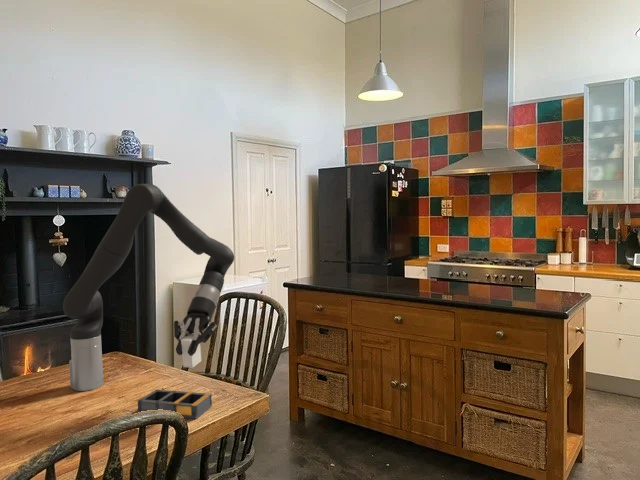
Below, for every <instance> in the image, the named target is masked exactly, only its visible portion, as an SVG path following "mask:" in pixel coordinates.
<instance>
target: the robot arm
mask: <svg viewBox="0 0 640 480" xmlns="http://www.w3.org/2000/svg"><path fill="white" fill-rule="evenodd" d="M148 213H152V214H153V215H155V216H156V217H158V218H159V219H160V220H161V221H163V222H164V223H165V224H166V225H167V226H168V227H169V229H170V230H171V231H172V233H173V234H174V235H175V237H176V238H177V239H178V240H179V241H180V242H181V243H182V244H184V245H185V247H186V248H188V249H189V250H190V251H192V252H193V253H194V254H196V255H199V256H200V255H202V254H205V255H207V256H209V258H208V259H207V263H206V265H205V268H204V271H203V275H202V277H201V280H200V281H199V285H198V287H197V288H196V290H195V292H194V294H193V297H192V299H191V302H190V304H189V306H188V308H187V313H186V316H185V317H184V318H183V319H182V320H180V321H178V320H174V321H173V326H174V327H173V333H174V338H175V339H176V340H177V345H176V347H175V352H176V354H177V355H178V356H182V345H181V340H182V339H183V338H185V337H186V336H189V335H190V334H194V337H193V341H192V342H191V344H190V346H189V349H188V354H189V355H190V356H193V354H195V352H196V350H197V347H198V345H199V344H200V345H201V343H203V344H205V343H207V342H208V340H209V339H210V338H211V337H212V335H213V334H214V333H215V332H216V330H218V325H217V324H216V323H215V322H214V321H212V319H213V317H214V314H215V310H216V308H217V306H218V304H219V301H220V300H219V299H220V296H221V292H222V290H223V287H224V283H225V276H226V274H227V272H228V271H229V269H230V268H231V266H232V264H233V263H234V261H235V254H234V252H233V250H232V249H231V248H230V247H229V246H228V245H226V244H224V243H223V242H220V241H218V240H217V239H215V238H212V237H210V236H209V235H207V233H205V232H204V231H203V230H202V229H200V228H199V226H197V225H196V224H195V223H193V221H191V220H190V219H189V218H187V216H185V215H184V213H182V212H181V211H180V210H179V209H178V207H176V206H175V204H173V203H172V202H171V201H170V199H169V198H168V197H167V195H165V193H164V192H163V191H162V190H161V188H159V187H158V186H157V185H155V184H154V183H153V184H152V183H138V184H134V185H133V186H131V187H130V189H128V191H127V193H126V195H125V197H124V200H123V202H122V205H121V206H120V209H119V211H118V213H117V215H116V216H115V219H114V220H113V222H112V223H111V225H110V227H109V228H108V229H107V232H106V233H105V234H104V236H103V238H102V239H101V240H100V243H99V244H98V246H97V248H96V249H95V251H94V253H93V255H92V257H91V258H90V260H89V261H88V263H87V264H86V266H85V269H84V270H83V272H82V273H81V275H80V276H79V278H78V279H77V281H76V282H75V283H74V285H73V286H72V287H71V289H70V290H69V291H68V292H67V294H66V295H65V297H64V299H63V303H62V308H63V309H62V310H63V313H64V315H66V316H67V317H68V318H70V319H74V320H76V319H77V321H76V323H75V325H74V326H73V327H72V328H71V329H70V332H69V338H70V351H71V352H70V353H71V354H70V355H71V359H70V360H68V363H69V365H68V366H69V381H70V383H69V384H70V389H72V390H74V391H77V392H85V391H86V392H87V391H91V390H95V389H98V388H100V387H102V386H103V385H104V370H103V351H102V328H103V323H104V302H103V297H102V294H101V293H100V291H99V289H100V288H101V286H102V285H103V284H104V283H105V282H106V281H107V280H109V279H110V278H111V277H112V276H113V275H114V274H115V273H116V272H117V271H118V270H119V269H120V268H121V267H122V265H123V264H124V262H125V260H126V259H127V257H128V256H129V254H130V253H131V252H130V251H131V249H132V247H133V244H134V243H133V242H134V239H135V238H134V237H135V233H136V231H137V229H138V227H139V225H140V223H141V222H142V221H143V219H144V217H146V215H147V214H148Z"/></svg>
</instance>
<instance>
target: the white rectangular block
mask: <svg viewBox="0 0 640 480" xmlns="http://www.w3.org/2000/svg"><path fill="white" fill-rule="evenodd" d="M193 337H194V333H193V334H190V335H189V336H186V337H185V338H183V339H182V340H181V345H182V355H181V357H182V367H183V368H191V369H193V368H194V367H195V366H197V365H198V364H200V363H201V362H202V350H201V349H202V348H201V343H200V344H199V345H198V347H197V350H196V352H195V354H193V356H190V355H189V354H188V349H189V346H190V344H191V342H192V341H193Z"/></svg>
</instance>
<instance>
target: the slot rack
mask: <svg viewBox="0 0 640 480" xmlns="http://www.w3.org/2000/svg"><path fill="white" fill-rule="evenodd" d="M212 399H213V398H212V392H207V393H206V392H194V391H193V390H190V391H183V390H182V391H181V390H169V389H168V390H167V389H155V390H152V391H151V392H150V393H148V394H146V395H144V396H143V397H142V398H140V399H138V400H137V413H138V412H141V411H147V410H158V409H163V410H171V411H175V412H178V413H180V414H181V415H182V416H183V417H184V418H183V419H189V420H198V419H199V418H200V417H201V416H202V415H203V414H205V412H207V411H208V410H210V409H211V408H212V406H213V405H212V404H213V403H212V402H213V401H212Z"/></svg>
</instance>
